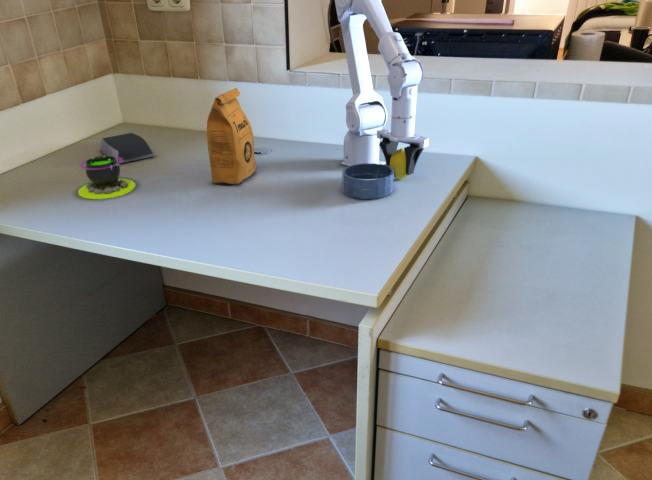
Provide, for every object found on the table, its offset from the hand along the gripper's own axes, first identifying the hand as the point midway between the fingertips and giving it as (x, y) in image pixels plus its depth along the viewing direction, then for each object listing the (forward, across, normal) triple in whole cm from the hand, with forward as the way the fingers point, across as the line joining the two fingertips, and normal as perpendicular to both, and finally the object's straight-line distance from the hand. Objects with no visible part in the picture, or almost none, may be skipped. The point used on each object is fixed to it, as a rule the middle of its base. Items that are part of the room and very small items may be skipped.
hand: (399, 171), depth 152 cm
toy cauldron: (+2, -56, -54) cm, 77 cm away
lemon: (+2, 0, 0) cm, 2 cm away
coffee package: (+2, -34, -26) cm, 44 cm away
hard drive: (+2, -80, -34) cm, 86 cm away
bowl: (+2, -1, -11) cm, 12 cm away
